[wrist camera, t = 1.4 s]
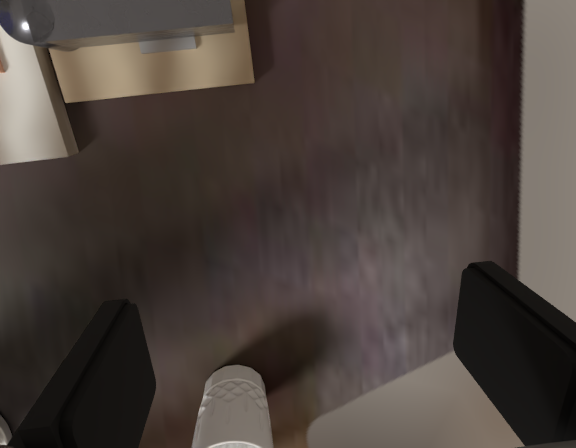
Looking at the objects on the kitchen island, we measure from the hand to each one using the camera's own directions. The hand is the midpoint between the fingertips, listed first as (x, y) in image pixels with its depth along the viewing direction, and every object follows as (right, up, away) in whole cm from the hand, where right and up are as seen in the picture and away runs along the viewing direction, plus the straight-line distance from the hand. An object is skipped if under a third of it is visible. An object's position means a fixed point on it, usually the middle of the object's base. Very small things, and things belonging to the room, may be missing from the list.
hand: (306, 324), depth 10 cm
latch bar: (-11, +17, +16) cm, 26 cm away
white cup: (-7, -16, +31) cm, 36 cm away
